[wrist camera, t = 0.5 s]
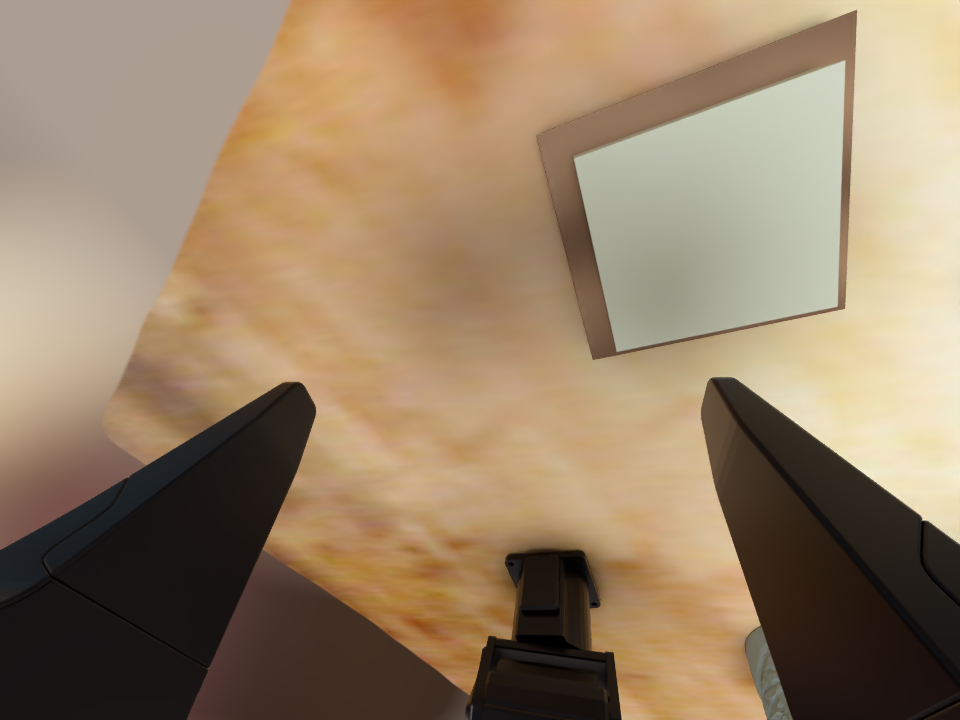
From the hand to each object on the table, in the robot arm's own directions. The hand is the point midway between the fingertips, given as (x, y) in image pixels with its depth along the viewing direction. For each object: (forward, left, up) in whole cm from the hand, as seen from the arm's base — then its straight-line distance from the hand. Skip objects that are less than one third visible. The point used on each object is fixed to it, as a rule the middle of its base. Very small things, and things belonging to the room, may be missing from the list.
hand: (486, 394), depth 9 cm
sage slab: (-1, -7, -12) cm, 14 cm away
